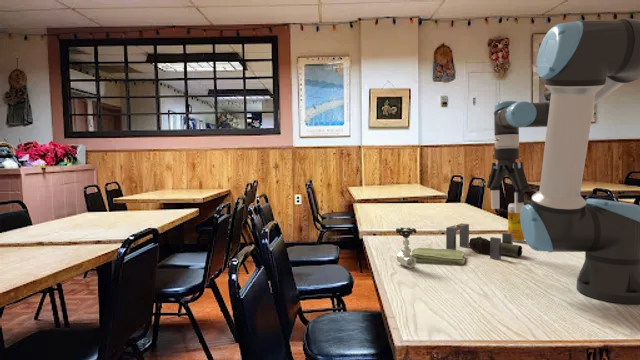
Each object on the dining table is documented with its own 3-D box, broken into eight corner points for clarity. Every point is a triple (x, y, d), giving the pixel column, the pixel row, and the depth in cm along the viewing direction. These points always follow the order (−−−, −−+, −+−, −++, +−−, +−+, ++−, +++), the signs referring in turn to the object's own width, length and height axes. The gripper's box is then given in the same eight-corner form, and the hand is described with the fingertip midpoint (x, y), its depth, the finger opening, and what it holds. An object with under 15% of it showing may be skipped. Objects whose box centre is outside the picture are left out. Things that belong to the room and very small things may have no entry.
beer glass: (504, 240, 165) (504, 203, 164) (515, 238, 167) (515, 202, 166) (517, 243, 159) (517, 205, 158) (528, 241, 162) (528, 204, 161)
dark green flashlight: (522, 256, 139) (522, 240, 139) (515, 260, 135) (515, 244, 134) (472, 248, 152) (472, 234, 151) (464, 252, 147) (464, 237, 147)
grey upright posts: (499, 259, 135) (499, 232, 134) (446, 251, 148) (446, 226, 148) (512, 253, 143) (512, 227, 143) (461, 245, 157) (461, 222, 156)
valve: (401, 270, 125) (401, 231, 124) (392, 264, 131) (391, 228, 130) (420, 268, 127) (420, 230, 126) (410, 263, 133) (410, 226, 132)
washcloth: (465, 267, 128) (466, 257, 128) (409, 263, 134) (409, 254, 133) (464, 257, 141) (464, 248, 141) (412, 254, 146) (412, 245, 146)
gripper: (476, 149, 149) (477, 207, 149) (519, 146, 124) (519, 215, 124) (496, 149, 150) (496, 206, 150) (541, 145, 125) (541, 214, 125)
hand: (506, 210), depth 137 cm, fingers open, 13 cm apart
